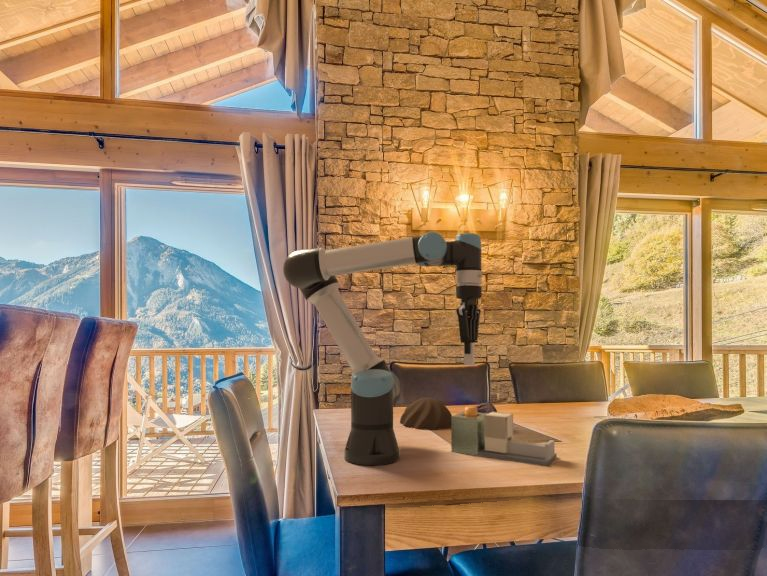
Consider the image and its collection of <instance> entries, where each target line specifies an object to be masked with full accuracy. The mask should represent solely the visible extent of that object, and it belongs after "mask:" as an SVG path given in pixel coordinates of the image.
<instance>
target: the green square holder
mask: <svg viewBox="0 0 767 576" xmlns="http://www.w3.org/2000/svg"><path fill="white" fill-rule="evenodd" d="M486 414H488V413H478V412H477V417H470V416H465V410H464V411H462V412H459V413H455V414H453V415H452V416H451V426H450V427H451V428H450V433H451V438H450V440H451V442H450V443H451V446H450V447H451V453H452V452H453V453H458V452H459V454H464V453H465V454H466V455H472V456H477V455H478V451H480V450H482V449H484V448H485V415H486Z"/></svg>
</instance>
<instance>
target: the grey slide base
mask: <svg viewBox="0 0 767 576" xmlns="http://www.w3.org/2000/svg"><path fill="white" fill-rule="evenodd" d="M507 441H508V452H507V453H500V452H493V451H486V450H485V448H484V449H482V450H480V451H478V456H479V457H486V458H492V459H496V460H497V459H498V460H505V461H510V460H511V461H513V462H517V463H526V464H529V465H530V464H531V465H536V464H537V465H538V466H543V465H544V467H548V466H549V465H550V464H551V463H552V462H553V461H555V460H556V458H557V453H555V440H554V439H550V440H548V441H547V442H546V443H539V442H532V441H525V440H524V441H523V440H518V439H517V440H516V439H513V440H509V439H507ZM511 461H510V462H511Z"/></svg>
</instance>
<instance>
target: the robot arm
mask: <svg viewBox="0 0 767 576" xmlns="http://www.w3.org/2000/svg"><path fill="white" fill-rule="evenodd" d="M481 239H482V238H481V236H480V235H479V234H477V233H473V232H465V233H459V234H456V236H455V239H454V240H450V241H448V240H447V241H446V239H445V237H443V235H441V234H440V233H438V232H435V231H428V232H426V233H424V234H422V235H419V236H414V237H412V236H411V237H405V238H398V239H391V240H385V241H380V242H379V241H378V242H371V243H364V244H360V245H359V244H358V245H353V246H346V247H345V246H344V247H339V248H331V249H326V248H324V246H323V247H316V248H304V249H298V250H295V251H293V252H292V253H290V254H289V255H287V257H286V259H285V260H284V263H283V268H282V270H283V276H284V278H285V280H286V281H287V283H288V284H289V285H291V286H293V287H295V288H297V289H299V290H300V292H301V293H302V295H303V297H304V299H305V301H306V302H307V303H309V304H312V305H314V306H315V308H316V311H317V312H318V313H319V315H320V317H321V319H322V321H323V322H324V324H325V325H326V328H327V329H328V330H329V333H330V335H331V336H332V338H333V339H334V342H335V343H336V344H337V347H338V348H339V350H340V352H341V354H342V356H343V357H344V358H345V361H346V362H347V364H348V365H349V368H350V370H351V377H350V380H351V382H350V393H351V394H350V431H349V433H348V434H349V435H348V437H347V441H346V444H345V447H344V460H345V461H347V462H349V463H351V464H356V465H363V466H378V465H381V466H383V465H387V464H392V463H395V462H397V461H399V460H400V456H401V455H400V451H401V450H400V447H399V443H398V441H397V437H396V434H395V430H394V405H396V403H398V400H399V399H400V395H401V391H402V390H401V389H402V388H401V383H400V380H399V378H398V376H397V375H396V373H394V372H393V371H392V370H391V368H390V367H389V366H388V364H387V362H386V361H385V359H384V358H381V357H378V356H377V355H376V354H375V352H374V350H373V348H372V346H371V345H370V343H369V341H368V340H367V338H366V336H365V334H364V332H363V331H362V329H361V327H360V326H359V324H358V323H357V321H356V319H355V317H354V315H353V314H352V312H351V310H350V308H349V307H348V306H347V303H346V302H345V299H343V297H342V295H341V293H340V291H339V287H340V285H341V284H340V282H339V280H338V279H337V276H341V275H342V276H343V275H348V274H354V273H362V272H368V271H375V270H376V271H377V270H383V269H388V268H395V267H401V266H407V265H408V266H409V265H415V264H416V265H417V266H418V267H427V268H430V267H455V284H456V285H457V286H456V287H455V297H456V299H458V300H460V303H459V304H460V307H459V308H458V307H457V308H456V315H457V320H458V321H457V322H458V328H459V331H458V332H459V339H460V343H463V365H464V366H475V361H476V360H475V344H476V343H478V339H479V328H480V326H479V325H480V316H481V310H482V309H481V308H478V303H477V300H479V299H482V294H483V293H482V291H483V289H482V288H483V287H482V286H481V284H482V278H483V276H484V275H483V273H482V240H481Z"/></svg>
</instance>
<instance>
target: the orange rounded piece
mask: <svg viewBox="0 0 767 576" xmlns="http://www.w3.org/2000/svg"><path fill="white" fill-rule="evenodd" d="M464 411H465V416H470V417H477V407H476V406H471V405H470V406H464Z"/></svg>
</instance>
